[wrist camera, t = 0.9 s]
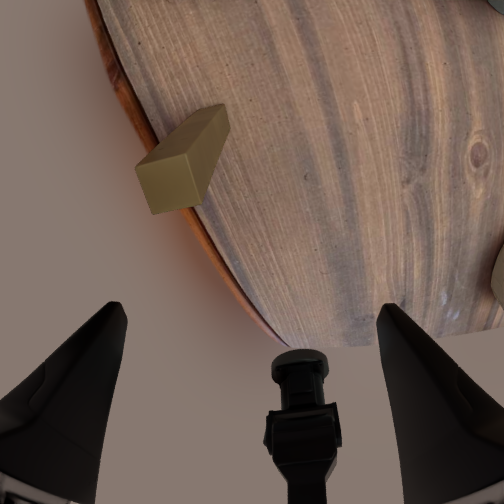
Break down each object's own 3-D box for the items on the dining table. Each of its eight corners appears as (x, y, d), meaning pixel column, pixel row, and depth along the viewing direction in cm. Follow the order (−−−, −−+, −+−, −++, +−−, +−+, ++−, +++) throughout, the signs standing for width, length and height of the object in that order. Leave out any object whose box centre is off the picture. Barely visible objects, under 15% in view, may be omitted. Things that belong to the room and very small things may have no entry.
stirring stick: (230, 128, 18) (202, 205, 9) (204, 134, 18) (151, 215, 10) (224, 103, 17) (186, 153, 8) (197, 109, 17) (133, 167, 8)
